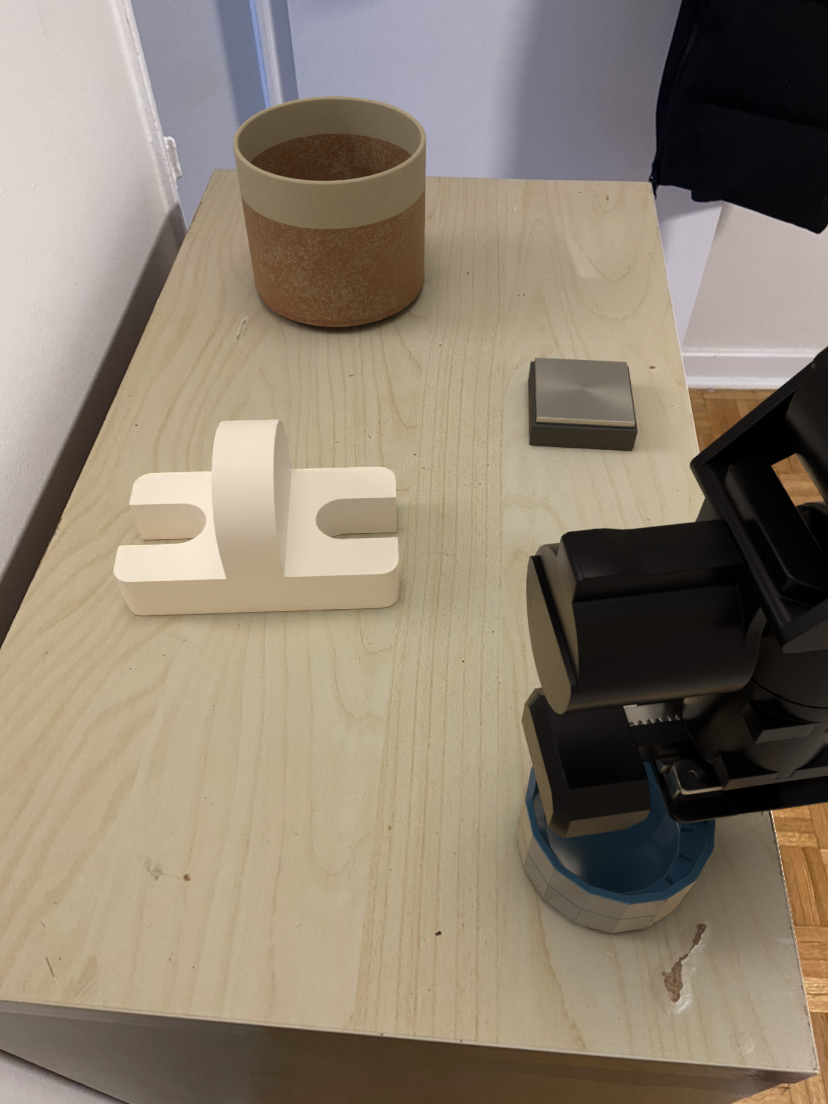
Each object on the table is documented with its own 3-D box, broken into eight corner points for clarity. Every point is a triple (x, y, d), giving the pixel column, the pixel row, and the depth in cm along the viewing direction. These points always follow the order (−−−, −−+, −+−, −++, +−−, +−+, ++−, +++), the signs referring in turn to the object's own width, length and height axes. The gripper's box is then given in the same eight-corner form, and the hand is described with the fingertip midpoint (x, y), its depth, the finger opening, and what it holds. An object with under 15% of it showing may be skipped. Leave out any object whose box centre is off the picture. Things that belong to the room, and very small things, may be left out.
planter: (433, 328, 75) (436, 177, 65) (254, 339, 74) (228, 187, 64) (415, 235, 85) (415, 91, 75) (257, 243, 84) (235, 99, 74)
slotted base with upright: (399, 607, 56) (397, 493, 47) (124, 616, 55) (73, 503, 47) (395, 501, 62) (393, 384, 53) (148, 508, 61) (106, 391, 53)
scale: (624, 384, 70) (630, 359, 68) (632, 450, 65) (639, 425, 63) (527, 380, 71) (531, 354, 69) (529, 445, 66) (532, 420, 64)
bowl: (694, 788, 47) (719, 747, 44) (683, 957, 42) (710, 927, 38) (533, 748, 49) (543, 705, 45) (501, 906, 43) (510, 872, 39)
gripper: (920, 467, 38) (797, 657, 49) (511, 511, 36) (486, 697, 48) (1082, 680, 30) (893, 842, 42) (582, 748, 29) (532, 897, 41)
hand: (694, 810), depth 44 cm, fingers closed on bowl
